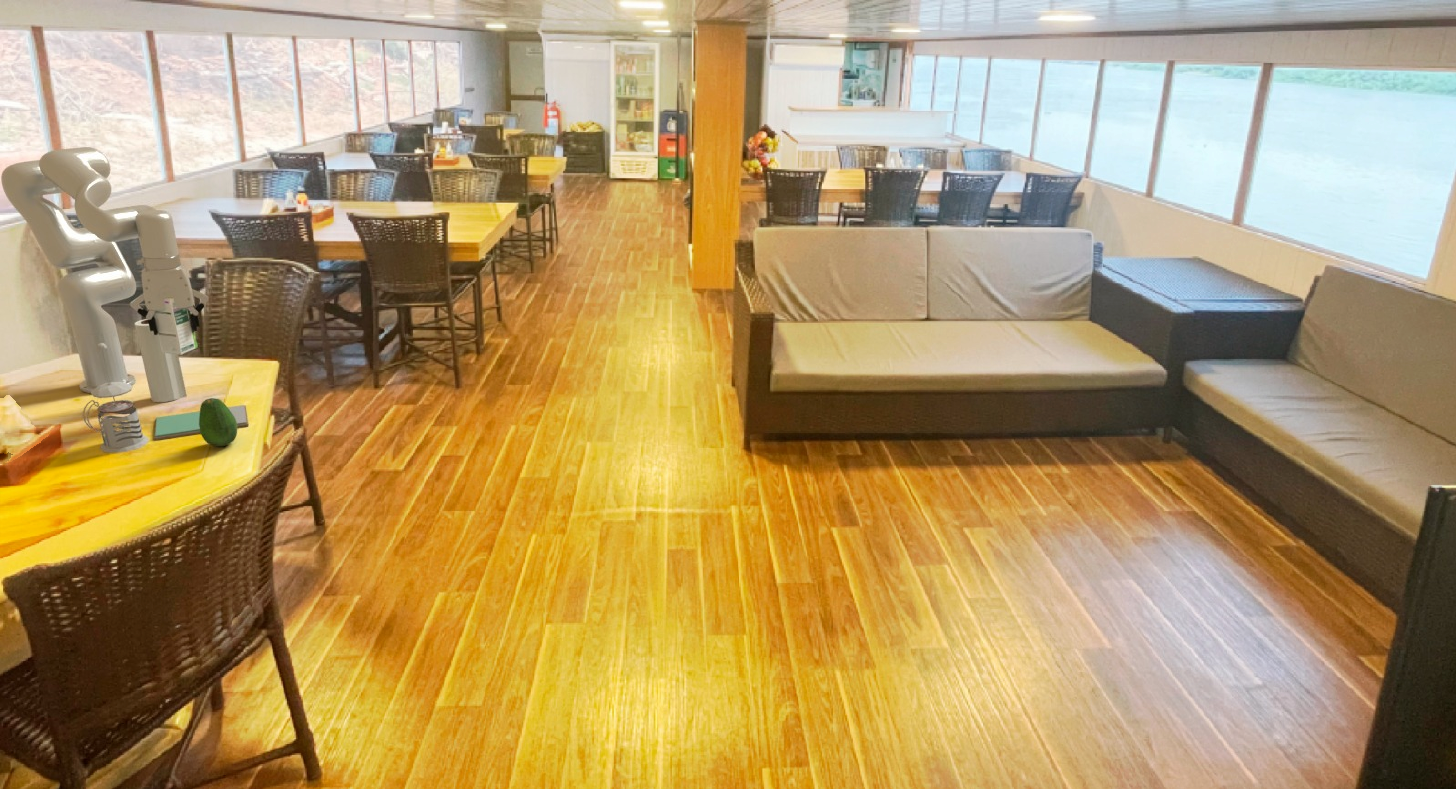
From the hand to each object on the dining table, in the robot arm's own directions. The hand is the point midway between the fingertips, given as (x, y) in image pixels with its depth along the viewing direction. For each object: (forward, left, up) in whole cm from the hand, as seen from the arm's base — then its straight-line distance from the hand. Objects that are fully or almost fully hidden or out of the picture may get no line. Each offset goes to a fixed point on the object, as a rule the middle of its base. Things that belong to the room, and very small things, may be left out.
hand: (175, 331), depth 225 cm
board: (+11, +2, -21) cm, 24 cm away
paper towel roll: (-10, -6, -21) cm, 24 cm away
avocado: (+27, +6, -21) cm, 35 cm away
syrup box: (0, 0, -5) cm, 5 cm away
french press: (+17, -15, -21) cm, 31 cm away
